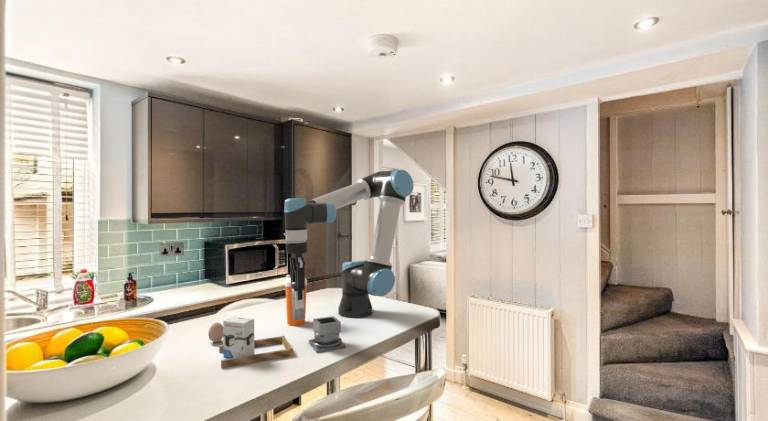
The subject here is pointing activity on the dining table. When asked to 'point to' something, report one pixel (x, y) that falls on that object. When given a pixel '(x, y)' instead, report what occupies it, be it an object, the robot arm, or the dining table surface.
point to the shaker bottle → (289, 302)
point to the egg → (216, 332)
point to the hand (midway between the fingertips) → (298, 306)
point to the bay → (262, 356)
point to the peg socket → (326, 334)
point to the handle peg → (297, 313)
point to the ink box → (238, 337)
